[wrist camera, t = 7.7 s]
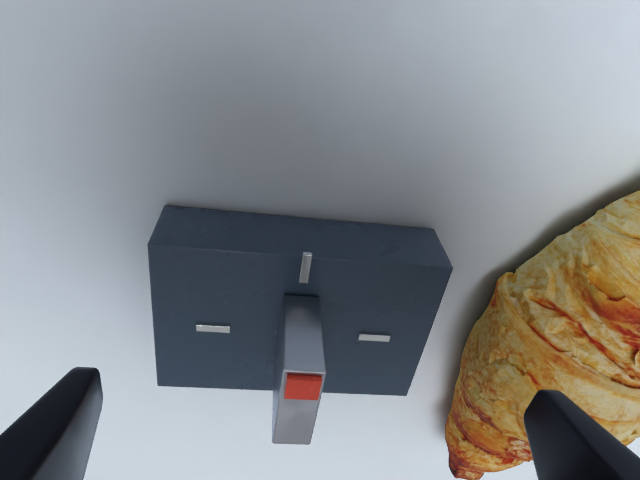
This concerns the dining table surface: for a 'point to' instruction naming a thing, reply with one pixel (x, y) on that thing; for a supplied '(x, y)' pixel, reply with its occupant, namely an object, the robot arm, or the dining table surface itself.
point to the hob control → (290, 279)
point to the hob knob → (298, 370)
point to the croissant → (554, 343)
